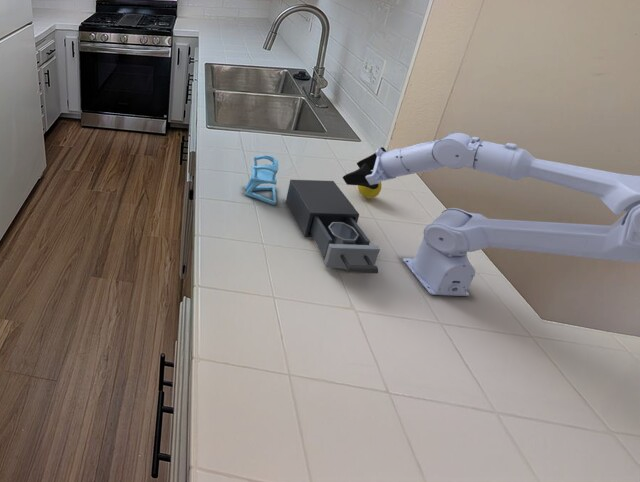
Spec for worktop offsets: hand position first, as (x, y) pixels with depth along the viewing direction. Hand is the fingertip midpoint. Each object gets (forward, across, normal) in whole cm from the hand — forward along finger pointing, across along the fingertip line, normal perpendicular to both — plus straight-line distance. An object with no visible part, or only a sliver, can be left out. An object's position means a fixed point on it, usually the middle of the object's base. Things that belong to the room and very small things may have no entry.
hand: (352, 173), depth 95 cm
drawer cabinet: (+12, +6, +8) cm, 16 cm away
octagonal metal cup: (+4, +13, +12) cm, 18 cm away
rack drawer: (+4, +14, +13) cm, 20 cm away
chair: (+24, +8, -3) cm, 25 cm away
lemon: (+11, -14, +13) cm, 22 cm away
